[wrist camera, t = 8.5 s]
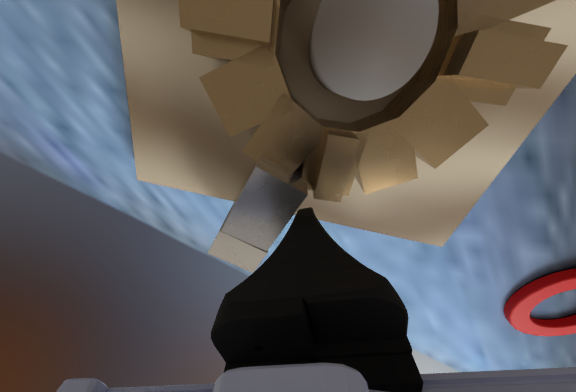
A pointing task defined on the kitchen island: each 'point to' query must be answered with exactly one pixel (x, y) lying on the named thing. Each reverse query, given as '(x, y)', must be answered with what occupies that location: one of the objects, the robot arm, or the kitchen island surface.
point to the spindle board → (326, 105)
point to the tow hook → (533, 294)
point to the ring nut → (364, 132)
